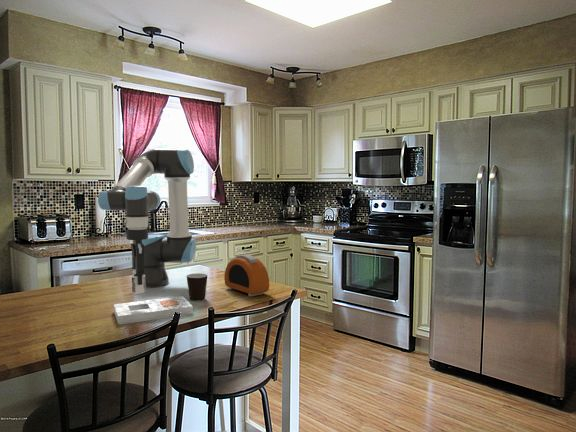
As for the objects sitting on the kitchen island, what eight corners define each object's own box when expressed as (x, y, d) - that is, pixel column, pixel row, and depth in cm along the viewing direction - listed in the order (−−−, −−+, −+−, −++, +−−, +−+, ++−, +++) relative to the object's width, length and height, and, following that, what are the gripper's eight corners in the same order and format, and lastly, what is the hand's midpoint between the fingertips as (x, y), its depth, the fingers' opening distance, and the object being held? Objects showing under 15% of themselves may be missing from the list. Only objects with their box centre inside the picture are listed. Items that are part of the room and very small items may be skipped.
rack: (113, 312, 160) (113, 303, 159) (182, 303, 172) (182, 295, 171) (118, 324, 146) (118, 315, 145) (193, 314, 157) (193, 305, 157)
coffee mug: (202, 302, 173) (202, 278, 172) (183, 301, 175) (182, 277, 174) (213, 295, 185) (213, 272, 184) (195, 293, 186) (194, 271, 185)
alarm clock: (223, 288, 197) (223, 252, 195) (239, 285, 203) (239, 250, 201) (253, 298, 179) (253, 259, 178) (270, 295, 185) (270, 257, 184)
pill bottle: (133, 290, 158) (133, 268, 157) (146, 290, 158) (146, 268, 157) (130, 293, 153) (129, 271, 152) (143, 293, 153) (143, 270, 153)
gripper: (123, 226, 160) (124, 287, 162) (129, 231, 144) (131, 298, 146) (144, 225, 163) (145, 285, 165) (152, 230, 148) (153, 295, 149)
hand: (138, 291), depth 155 cm, fingers closed on pill bottle, 5 cm apart
